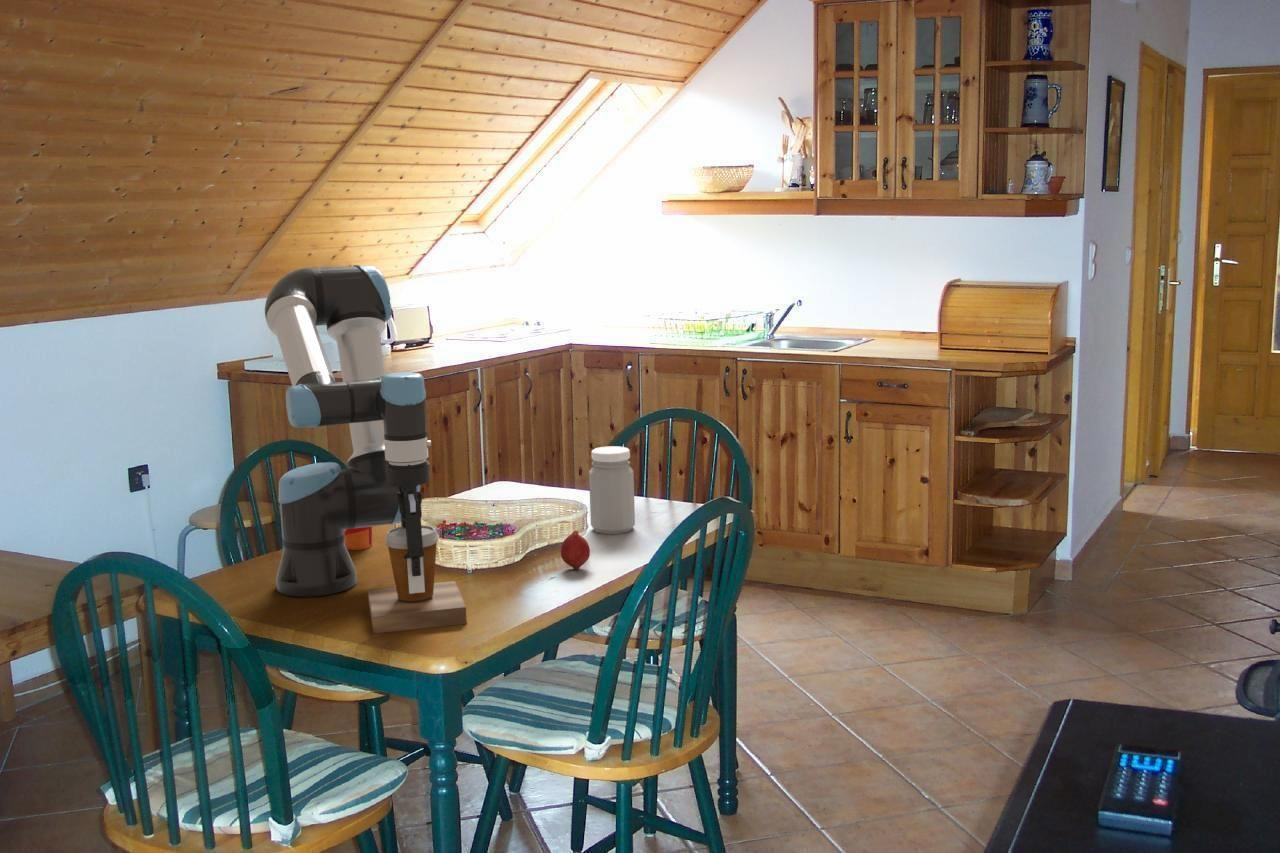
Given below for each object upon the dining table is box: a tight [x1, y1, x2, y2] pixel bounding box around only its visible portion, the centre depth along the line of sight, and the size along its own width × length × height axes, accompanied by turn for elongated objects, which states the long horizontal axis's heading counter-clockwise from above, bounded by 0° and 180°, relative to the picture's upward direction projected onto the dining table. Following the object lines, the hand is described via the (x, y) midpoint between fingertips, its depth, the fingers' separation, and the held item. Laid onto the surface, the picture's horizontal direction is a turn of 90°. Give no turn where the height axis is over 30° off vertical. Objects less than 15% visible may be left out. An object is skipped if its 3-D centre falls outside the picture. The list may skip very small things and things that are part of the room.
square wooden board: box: [367, 580, 468, 634], centre depth 233 cm, size 16×16×3 cm
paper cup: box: [344, 526, 373, 551], centre depth 278 cm, size 8×8×14 cm
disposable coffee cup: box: [384, 524, 440, 601], centre depth 232 cm, size 10×10×12 cm
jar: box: [588, 445, 636, 535], centre depth 286 cm, size 10×10×18 cm
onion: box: [560, 529, 591, 570], centre depth 258 cm, size 6×6×8 cm
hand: (414, 584), depth 233 cm, fingers open, 8 cm apart
